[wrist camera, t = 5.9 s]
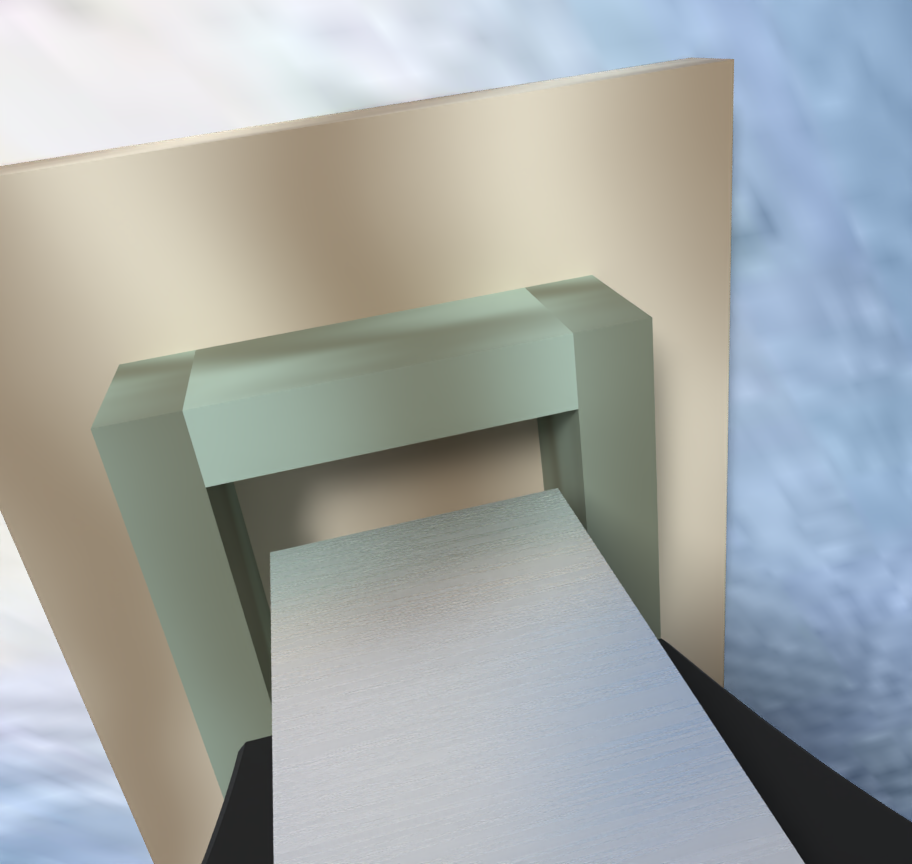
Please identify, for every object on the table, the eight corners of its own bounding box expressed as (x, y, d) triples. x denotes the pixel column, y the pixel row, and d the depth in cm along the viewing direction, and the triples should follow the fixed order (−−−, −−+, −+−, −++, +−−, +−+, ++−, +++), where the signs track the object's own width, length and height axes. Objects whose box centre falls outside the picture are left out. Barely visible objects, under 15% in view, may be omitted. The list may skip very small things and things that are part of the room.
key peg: (329, 766, 13) (390, 1438, 7) (270, 552, 11) (277, 1195, 5) (577, 702, 13) (846, 1273, 7) (557, 488, 12) (892, 997, 5)
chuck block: (226, 966, 22) (220, 1145, 18) (-95, 181, 13) (-230, 233, 9) (694, 833, 23) (771, 975, 20) (691, 57, 15) (827, 62, 11)
